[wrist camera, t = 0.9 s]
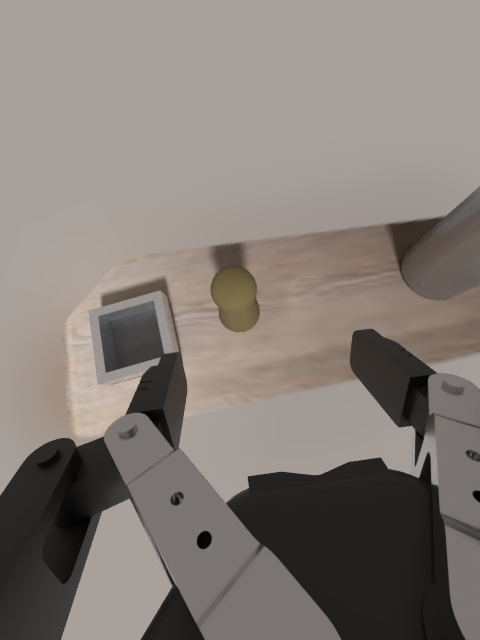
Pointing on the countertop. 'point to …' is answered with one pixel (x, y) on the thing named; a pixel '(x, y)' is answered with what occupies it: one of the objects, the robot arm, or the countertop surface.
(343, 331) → the countertop surface
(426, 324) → the countertop surface
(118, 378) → the grey shallow square box
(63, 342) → the countertop surface
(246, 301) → the cork
